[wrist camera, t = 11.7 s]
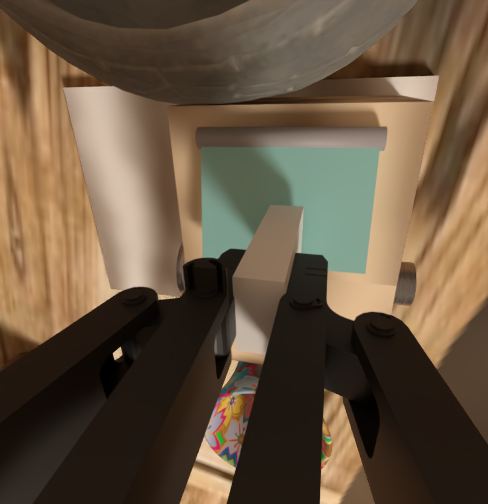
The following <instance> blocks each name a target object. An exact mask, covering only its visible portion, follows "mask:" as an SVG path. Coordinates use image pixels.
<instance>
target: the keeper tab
mask: <svg viewBox="0 0 488 504" xmlns="http://www.w3.org/2000/svg"><path fill="white" fill-rule="evenodd" d="M195 140H196V145H197V147H198V149H201V188H202V258H216V259H218V258H219V257H220V255H221V254H222V253H224V252H225V251H227V250H229V249H230V248H231V249H243V250H247V248H248V246H249V244H250V242H251V240H252V239H253V237H254V235H255V233H256V231H257V229H258V227H259V225H260V223H261V222H262V220H263V218H264V216H265V214H266V212H267V210H268V208H269V206H270V205H286V206H304V211H303V230H302V248H301V253H305V254H317V255H323V256H324V257H325V259H326V260H327V261H328V271H335V272H347V273H359V274H365V273H366V264H367V255H368V247H369V238H370V230H371V221H372V212H373V204H374V195H375V187H376V178H377V169H378V161H379V152H380V151H384V150H385V147H386V142H387V126H380V127H198V128H197V129H196V134H195Z"/></svg>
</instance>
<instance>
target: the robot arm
mask: <svg viewBox="0 0 488 504" xmlns="http://www.w3.org/2000/svg"><path fill="white" fill-rule="evenodd" d="M303 211H304V206H286V205H270V206H269V208H268V210H267V212H266V214H265V216H264V218H263V220H262V222H261V223H260V225H259V227H258V229H257V231H256V233H255V235H254V237H253V239H252V240H251V242H250V244H249V246H248V248H247V250H243V249H231V248H230V249H229V250H227V251H225V252H224V253H222V254H221V255H220V257H219V258H218V259H216V258H198V259H194V260H191V261H189V262H187V263H186V264H184V265H183V273H184V282H185V291H184V293H183V294H182V295H181V297H180V298H175V299H164V300H158V295H157V293H156V291H155V290H153V289H151V288H149V287H132V288H129V289H126V290H123V291H121V292H119V293H118V294H116V295H115V296H113V297H112V298H110V299H109V300H107V301H106V302H104V303H103V304H101V305H100V306H98V307H97V308H95V309H94V310H92V311H91V312H89V313H88V314H86V315H85V316H83V317H82V318H80V319H79V320H77V321H76V322H74V323H73V324H71V325H70V326H68V327H67V328H65V329H64V330H62V331H61V332H59V333H58V334H56V335H55V336H53V337H52V338H50V339H49V340H47V341H46V342H44V343H43V344H41V345H40V346H38V347H37V348H35V349H34V350H32V351H31V352H27V353H22V354H19V355H17V356H15V357H13V358H12V359H11V360H10V361H9V362H8V363H7V364H5V365H4V366H3V367H2V368H1V369H0V504H179V503H180V501H181V498H182V495H183V493H184V490H185V487H186V484H187V482H188V479H189V476H190V473H191V471H192V468H193V465H194V463H195V460H196V457H197V454H198V452H199V449H200V446H201V443H202V441H203V438H204V435H205V432H206V430H207V427H208V424H209V422H210V419H211V416H212V413H213V411H214V408H215V405H216V402H217V400H218V397H219V394H220V392H221V389H222V386H223V383H224V381H225V378H226V375H227V372H228V370H229V367H230V364H231V359H232V352H231V347H232V345H233V342H234V340H235V345H236V350H237V351H244V352H251V353H257V354H264V355H265V358H264V362H263V366H262V370H261V374H260V378H259V382H258V385H257V389H256V393H255V397H254V401H253V405H252V409H251V412H250V416H249V420H248V424H247V428H246V432H245V436H244V439H243V443H242V447H241V451H240V455H239V459H238V463H237V466H236V470H235V474H234V478H233V482H232V486H231V490H230V493H229V497H228V501H227V504H320V483H321V457H322V431H323V405H324V388H325V389H327V390H329V391H331V392H334V393H336V394H338V395H340V396H343V403H344V406H345V410H346V413H347V416H348V419H349V422H350V426H351V429H352V432H353V435H354V438H355V441H356V445H357V448H358V451H359V454H360V457H361V460H362V464H363V467H364V470H365V473H366V476H367V480H368V483H369V486H370V489H371V492H372V495H373V499H374V502H375V504H488V444H487V443H486V441H485V440H484V438H483V437H482V435H481V434H480V433H479V431H478V430H477V428H476V427H475V425H474V424H473V422H472V421H471V419H470V418H469V416H468V415H467V413H466V412H465V410H464V409H463V407H462V406H461V405H460V403H459V402H458V400H457V399H456V397H455V396H454V394H453V393H452V391H451V390H450V388H449V387H448V385H447V384H446V382H445V381H444V380H443V378H442V377H441V375H440V374H439V372H438V371H437V369H436V368H435V366H434V365H433V363H432V362H431V360H430V359H429V357H428V356H427V354H426V353H425V352H424V350H423V349H422V347H421V346H420V344H419V343H418V341H417V340H416V338H415V337H414V335H413V334H412V332H411V331H410V329H409V328H408V327H407V326H406V325H405V324H404V323H403V322H402V321H401V320H399V319H398V318H396V317H394V316H392V315H389V314H385V313H382V312H366V313H362V314H360V315H358V316H357V317H356V318H355V320H351V319H348V318H345V317H343V316H340V315H338V314H337V313H335V312H334V311H333V310H332V309H330V307H329V306H328V304H327V276H328V261H327V260H326V259H325V257H324V256H323V255H317V254H305V253H301V248H302V230H303ZM119 347H121V349H122V354H123V355H122V356H121V357H120V358H118V359H116V360H114V357H113V353H114V352H115V351H116V350H117V349H118V348H119Z"/></svg>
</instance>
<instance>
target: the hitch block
mask: <svg viewBox="0 0 488 504" xmlns="http://www.w3.org/2000/svg"><path fill="white" fill-rule="evenodd" d="M438 79H439V76H414V77H383V78H351V79H322V80H320V81H318V82H315V83H313V84H311V85H309V86H307V87H305V88H303V89H301V90H298V91H295V92H290V93H284V94H279V95H274V96H269V97H264V98H259V99H254V100H249V101H243V102H234V103H226V104H174V103H167V102H161V101H155V100H152V99H148V98H145V97H142V96H138V95H135V94H132V93H129V92H126V91H122V90H121V89H119V88H117V87H115V86H101V87H70V88H63V89H64V93H65V97H66V101H67V106H68V110H69V114H70V118H71V123H72V127H73V131H74V135H75V139H76V144H77V148H78V152H79V156H80V160H81V165H82V169H83V173H84V177H85V182H86V186H87V190H88V194H89V198H90V203H91V207H92V211H93V215H94V219H95V224H96V228H97V232H98V236H99V241H100V245H101V249H102V253H103V257H104V262H105V266H106V270H107V274H108V278H109V283H110V287H111V289H117V290H126V289H129V288H132V287H149V288H151V289H153V290H155V291H156V293H157V294H162V295H171V296H180V297H181V295H182V294H181V292H180V291H179V288H178V285H177V279H176V263H177V256H178V252H179V248H180V245H181V243H182V241H183V248H184V257H185V264H186V263H187V262H189V261H191V260H194V259H198V258H202V188H201V149H198V147H197V145H196V140H195V134H196V129H197V128H198V127H380V126H387V142H386V147H385V150H384V151H380V152H379V161H378V169H377V178H376V187H375V195H374V204H373V212H372V221H371V230H370V238H369V247H368V255H367V264H366V273H365V274H359V273H347V272H335V271H328V276H327V304H328V306H329V307H330V309H332V310H333V311H334V312H335V313H337V314H338V315H340V316H343V317H345V318H348V319H351V320H355V318H356V317H357V316H358V315H360V314H362V313H366V312H382V313H385V314H389V315H391V312H392V307H393V302H394V297H395V292H396V287H397V282H398V277H399V272H400V267H401V262H402V257H403V252H404V247H405V243H406V238H407V233H408V228H409V223H410V218H411V213H412V208H413V203H414V198H415V193H416V188H417V183H418V178H419V173H420V168H421V163H422V159H423V154H424V149H425V144H426V139H427V134H428V129H429V124H430V119H431V114H432V109H433V104H434V98H435V93H436V88H437V83H438ZM231 352H232V359H231V360H236V361H243V362H250V363H257V364H263V362H264V358H265V355H264V354H257V353H251V352H244V351H237V350H236V345H235V340H234V342H233V345H232V347H231Z"/></svg>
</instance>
